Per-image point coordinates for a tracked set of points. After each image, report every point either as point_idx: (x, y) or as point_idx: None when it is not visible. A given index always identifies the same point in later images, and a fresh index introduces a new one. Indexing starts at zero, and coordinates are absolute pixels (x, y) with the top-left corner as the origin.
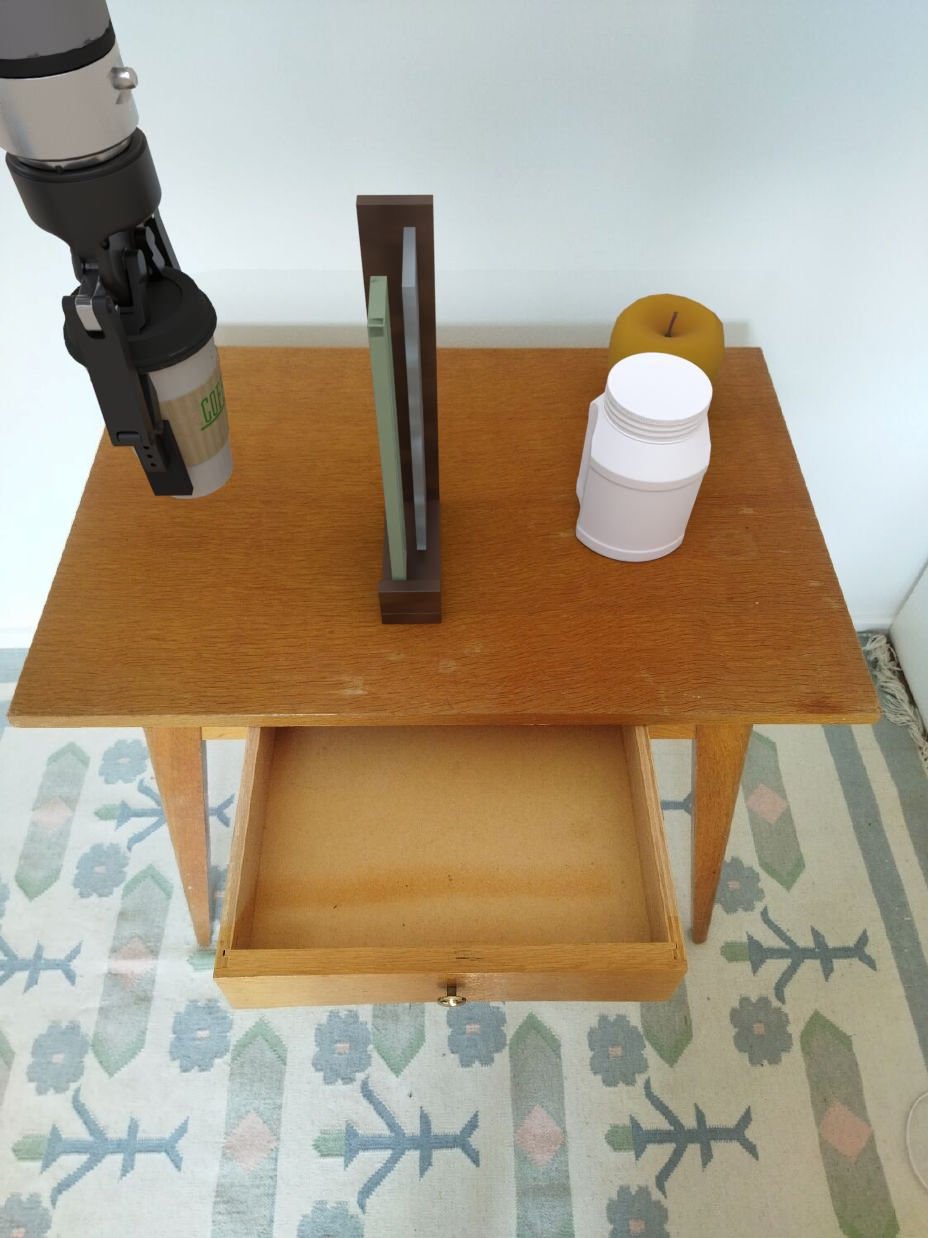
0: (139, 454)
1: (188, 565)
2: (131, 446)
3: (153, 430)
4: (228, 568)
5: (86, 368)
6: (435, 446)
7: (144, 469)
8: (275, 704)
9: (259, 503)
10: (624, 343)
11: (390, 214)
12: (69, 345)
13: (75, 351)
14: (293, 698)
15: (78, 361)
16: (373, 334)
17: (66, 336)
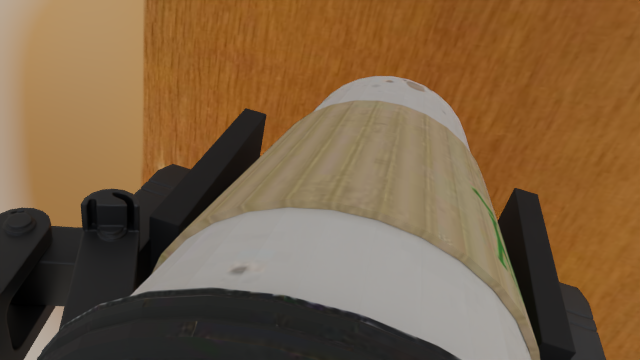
0: (134, 195)
1: (400, 7)
2: (300, 125)
3: (53, 306)
4: (375, 68)
5: (177, 273)
6: None
7: (214, 144)
8: (148, 91)
9: (497, 135)
10: None
11: None
12: (118, 341)
13: (71, 354)
14: (155, 111)
15: (87, 315)
16: None
17: (177, 349)
